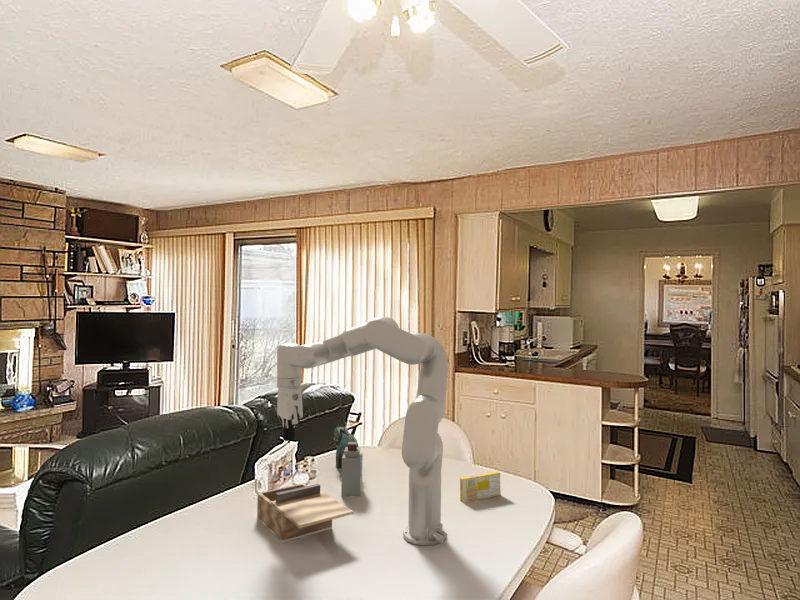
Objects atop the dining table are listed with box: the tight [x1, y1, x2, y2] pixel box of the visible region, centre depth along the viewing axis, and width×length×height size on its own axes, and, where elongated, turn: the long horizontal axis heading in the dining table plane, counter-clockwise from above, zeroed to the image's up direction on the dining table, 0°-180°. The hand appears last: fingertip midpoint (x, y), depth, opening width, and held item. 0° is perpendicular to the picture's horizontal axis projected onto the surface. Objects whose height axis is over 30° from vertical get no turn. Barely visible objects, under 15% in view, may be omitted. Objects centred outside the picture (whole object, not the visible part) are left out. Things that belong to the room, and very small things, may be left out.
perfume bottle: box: [340, 441, 363, 497], centre depth 188 cm, size 7×7×18 cm
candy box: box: [459, 471, 502, 504], centre depth 184 cm, size 16×2×8 cm, turn 116°
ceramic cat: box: [333, 421, 361, 470], centre depth 210 cm, size 20×6×20 cm, turn 27°
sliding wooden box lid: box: [271, 483, 354, 528], centre depth 152 cm, size 20×17×3 cm
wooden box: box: [256, 482, 333, 543], centre depth 162 cm, size 20×16×8 cm
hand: (288, 439), depth 166 cm, fingers closed
